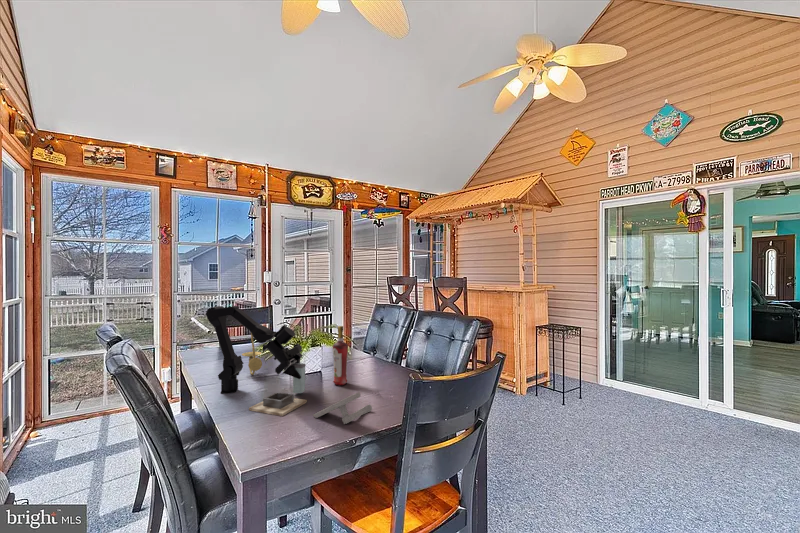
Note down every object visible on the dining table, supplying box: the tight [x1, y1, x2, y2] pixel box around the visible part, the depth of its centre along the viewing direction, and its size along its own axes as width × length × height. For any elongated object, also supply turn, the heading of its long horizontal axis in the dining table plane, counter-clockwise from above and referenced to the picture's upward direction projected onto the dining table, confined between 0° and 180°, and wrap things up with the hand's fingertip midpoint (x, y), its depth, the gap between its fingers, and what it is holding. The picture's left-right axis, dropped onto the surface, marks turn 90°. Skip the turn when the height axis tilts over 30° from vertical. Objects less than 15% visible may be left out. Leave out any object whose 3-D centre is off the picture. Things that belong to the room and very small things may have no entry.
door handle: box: [312, 391, 373, 425], centre depth 148 cm, size 18×8×20 cm
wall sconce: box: [241, 332, 263, 376], centre depth 203 cm, size 14×10×25 cm
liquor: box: [332, 325, 349, 386], centre depth 188 cm, size 7×7×28 cm
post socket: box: [248, 391, 308, 417], centre depth 158 cm, size 16×16×4 cm
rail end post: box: [292, 362, 307, 394], centre depth 173 cm, size 4×4×12 cm
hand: (302, 376), depth 173 cm, fingers closed on rail end post, 4 cm apart
